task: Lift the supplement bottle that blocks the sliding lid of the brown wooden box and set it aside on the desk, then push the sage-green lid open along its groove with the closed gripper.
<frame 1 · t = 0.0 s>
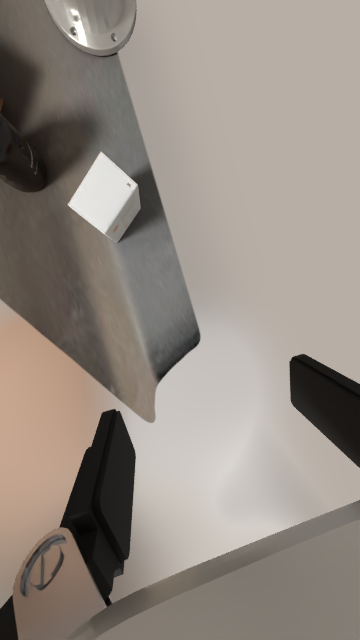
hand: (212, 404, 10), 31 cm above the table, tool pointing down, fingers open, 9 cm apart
supplement bottle: (25, 170, 30), on the table
small box: (116, 216, 34), on the table
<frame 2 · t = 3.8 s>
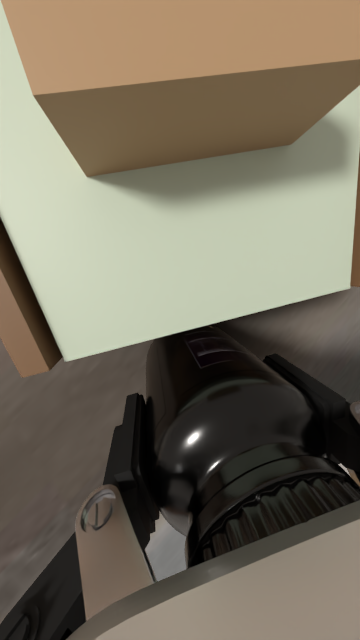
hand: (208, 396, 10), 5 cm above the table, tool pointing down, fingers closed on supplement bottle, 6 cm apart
lid: (206, 160, 5), point 8 cm above the table, slide at 0.0 cm
supplement bottle: (189, 356, 15), on the table, touching gripper
brown wooden box: (169, 228, 12), on the table
when the fingers open (6 cm above the table, at t = 9.0 s): supplement bottle drops 1 cm, on the table.
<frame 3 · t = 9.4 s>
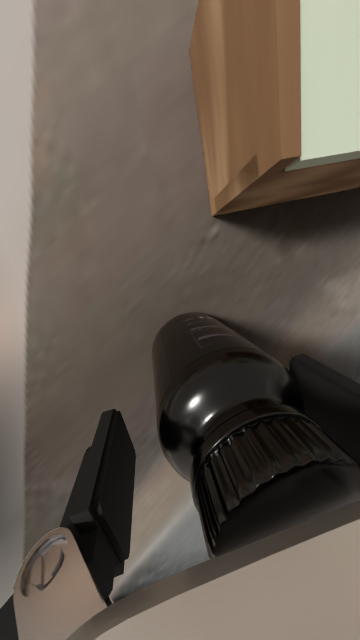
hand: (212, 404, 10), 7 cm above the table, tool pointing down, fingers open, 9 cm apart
supplement bottle: (190, 347, 16), on the table
brown wooden box: (289, 129, 13), on the table
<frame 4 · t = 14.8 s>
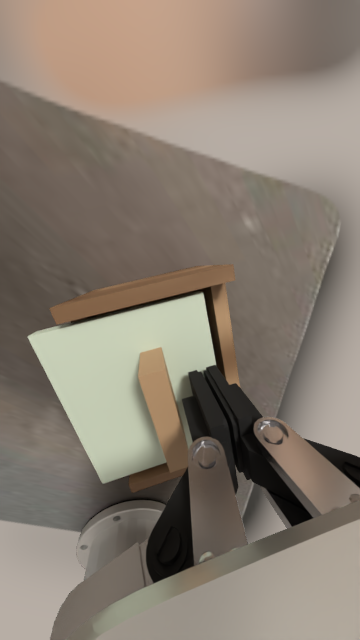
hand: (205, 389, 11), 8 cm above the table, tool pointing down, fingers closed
lid: (147, 408, 10), point 8 cm above the table, slide at 1.7 cm, touching gripper
brown wooden box: (164, 344, 18), on the table
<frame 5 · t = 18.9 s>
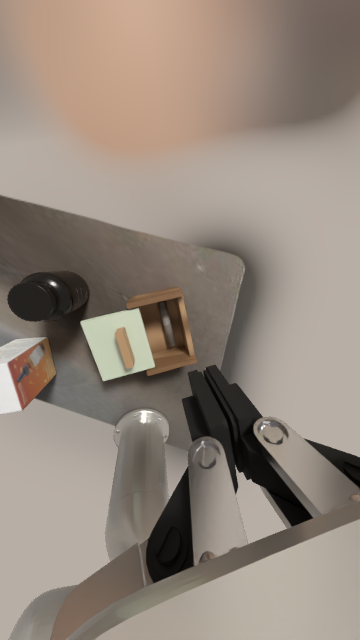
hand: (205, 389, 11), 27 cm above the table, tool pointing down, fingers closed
lid: (119, 348, 29), point 8 cm above the table, slide at 7.4 cm
supplement bottle: (70, 290, 33), on the table
small box: (37, 356, 35), on the table
brown wooden box: (161, 323, 37), on the table
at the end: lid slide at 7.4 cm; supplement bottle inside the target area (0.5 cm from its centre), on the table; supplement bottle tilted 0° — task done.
